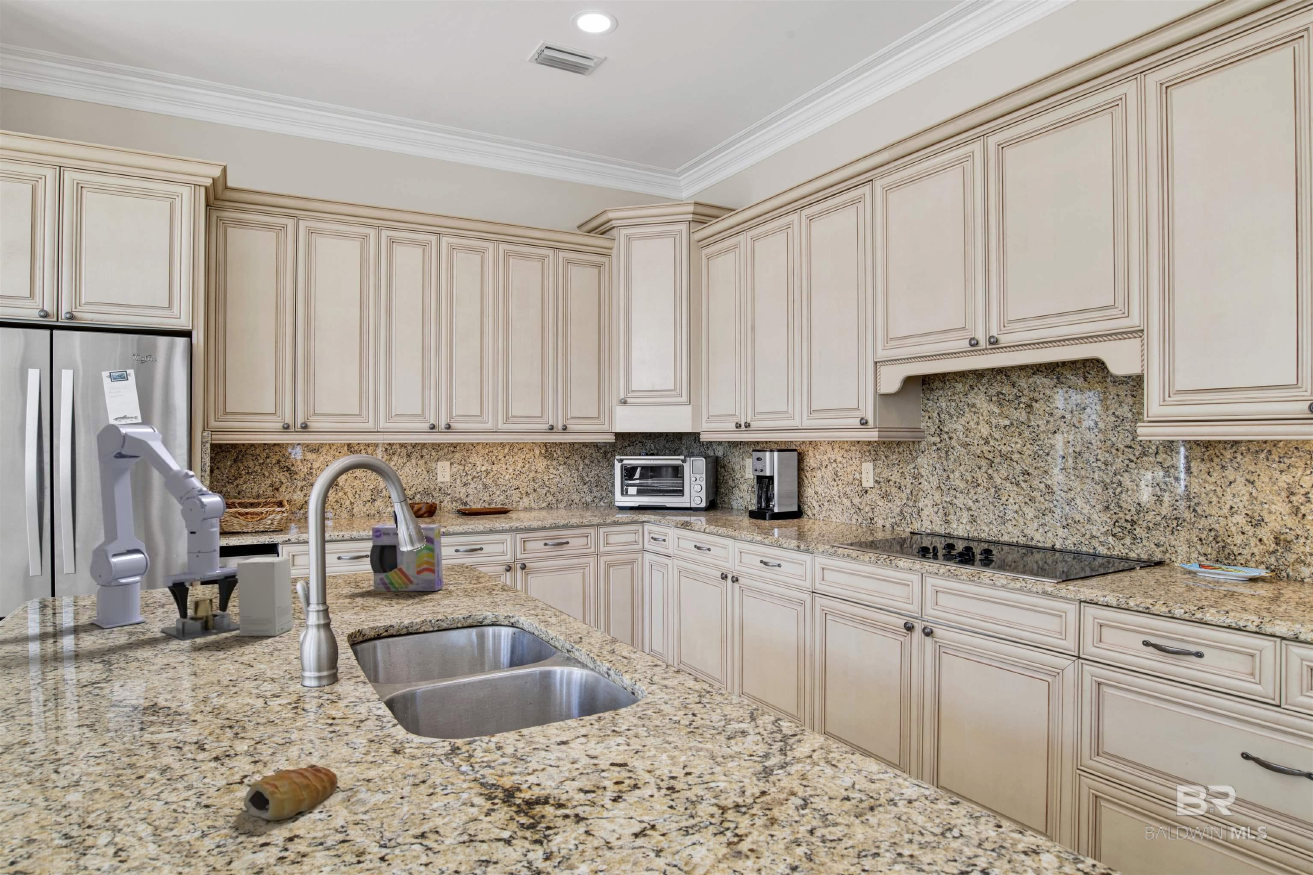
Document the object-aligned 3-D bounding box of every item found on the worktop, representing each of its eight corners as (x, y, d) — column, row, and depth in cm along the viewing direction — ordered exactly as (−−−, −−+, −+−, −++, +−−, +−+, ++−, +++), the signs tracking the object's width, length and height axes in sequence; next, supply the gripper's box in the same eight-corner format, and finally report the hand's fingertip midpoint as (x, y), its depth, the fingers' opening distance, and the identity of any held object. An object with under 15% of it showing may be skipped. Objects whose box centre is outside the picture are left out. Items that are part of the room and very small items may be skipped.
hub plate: (161, 630, 157) (161, 618, 157) (222, 619, 166) (222, 607, 166) (183, 640, 149) (183, 626, 149) (245, 628, 159) (245, 615, 159)
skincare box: (293, 629, 158) (293, 556, 158) (274, 637, 152) (274, 561, 152) (256, 628, 159) (256, 555, 159) (236, 636, 152) (236, 561, 152)
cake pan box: (368, 590, 199) (368, 525, 199) (378, 586, 204) (378, 522, 204) (435, 593, 196) (435, 526, 196) (443, 589, 201) (443, 524, 201)
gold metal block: (189, 628, 157) (189, 599, 157) (206, 624, 160) (206, 596, 160) (202, 631, 155) (202, 602, 155) (219, 627, 158) (219, 599, 158)
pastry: (314, 779, 89) (315, 747, 89) (352, 793, 85) (352, 760, 85) (237, 813, 81) (237, 778, 81) (275, 830, 77) (275, 793, 77)
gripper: (172, 557, 150) (172, 624, 150) (247, 548, 161) (247, 610, 161) (159, 553, 154) (159, 618, 154) (233, 545, 165) (233, 606, 165)
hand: (203, 614), depth 158 cm, fingers open, 7 cm apart
